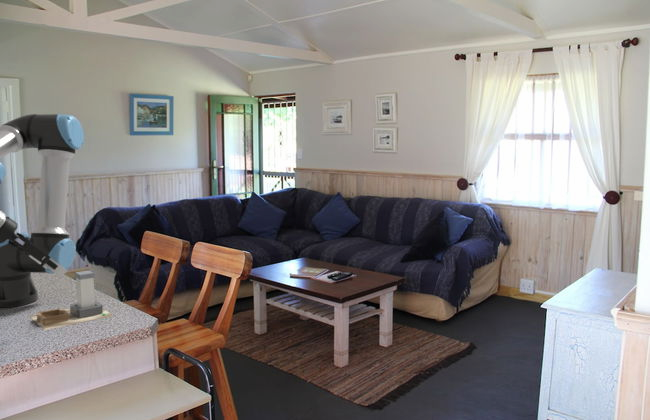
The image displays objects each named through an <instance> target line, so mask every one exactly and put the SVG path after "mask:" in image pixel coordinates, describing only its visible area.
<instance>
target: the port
mask: <svg viewBox="0 0 650 420" xmlns="http://www.w3.org/2000/svg"><path fill="white" fill-rule="evenodd" d="M69 309H70V313H71V314H72V315H73V316H75V317H76V318H78V317H79V318H84V317H89V316H94V315H99V314H102V313H103V309H104V308H103V304H102V303H100V302H98V301H97V300H95V306H94V307H89V308H84V309H79V308H78V307H77V302H75V303H71V304H70V305H69ZM103 315H106V313H103Z"/></svg>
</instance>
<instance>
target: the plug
mask: <svg viewBox="0 0 650 420" xmlns="http://www.w3.org/2000/svg"><path fill="white" fill-rule="evenodd" d="M74 275H75V277H74V278H75V284H76V285H75V288H76V289H75V291H76V303H77V307H78V308H79V309H84V308H89V307H94V306H95V301H96V300H95V299H96V298H95V282H94V281H95V279H94V278H95V273H94V272H92V271H91V270H82V271H76V272H74Z"/></svg>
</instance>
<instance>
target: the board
mask: <svg viewBox="0 0 650 420" xmlns="http://www.w3.org/2000/svg"><path fill="white" fill-rule="evenodd" d="M63 310H65V311H66V312H68V317H69V319H68V321H63V322H59V323H54V324H49V325H42V324H41V323H40V322H39V321H38V320H37V314H34V315H29V318H30V319H31V320H33V322H35V323H36V324H37V325H38V326H39V327H40V328H42V329H43V330H44V331H48V330H53V329H57V328H63V327H67V326H72V325H77V324H80V323H87V322H91V321H96V320H100V319H104V318H110V317H114V316H115V315H114V314H112V313H110V312H109V311H107V310H105V309H104V308H103V313H106V315H103V313H102V314H99V315H94V316H89V317H84V318H79V317H78V318H76V317H75V316H73V315H72V314H71V313H70V308H66V309H63Z"/></svg>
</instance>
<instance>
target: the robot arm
mask: <svg viewBox="0 0 650 420" xmlns="http://www.w3.org/2000/svg"><path fill="white" fill-rule="evenodd" d="M84 139H85V136H84V131H83V126H82V124H81V122H80V121H79V120H78V119H77V118H76V117H75V116H73V115H72V114H62V113H59V114H58V113H57V114H52V113H51V114H48V113H47V114H39V113H38V114H35V113H34V114H32V113H31V114H26V115H23V116H19V117H15V119H14V118H13V119H11V120H9V121H7V122H5V123H3V124H2V125H0V160H2V159H3V158H4V157H5V156H8V154H13V153H17V152H20V151H22V150H24V149H37V153H38V154H39V156H41V166H40V167H41V168H40V182H39V194H38V205H37V207H38V209H37V218H36V228H35V229H33V230H32V231H31V232H30V235H29V233H28V232H16V230H17V229H18V223H17V222H16V221H15V220H13V219H12V218H11V217H9V216H6V213H5V212H3V211H2V210H0V308H13V307H20V306H25V305H29V304H32V303H34V302H36V301H37V300H39V293H38V290H37V287H36V285H35V283H34V281H33V279H32V273H33V274H34V273H35V274H48V275H49V274H54V275H56V276H58V277H59V278H63V277H64V275H65V274H66V273H67V272H68V269H70V267H71V266H72V264H73V262H74V260H75V256H76V246H75V245H76V244H75V242H74V241H73V240H72V239H71V238H70V233H69V232H68V231H67V230H66V228H65V227H66V218H67V216H66V215H67V203H68V193H69V192H68V189H69V176H70V165H71V164H70V162H71V159H73V158H74V157H76V150H80V149H81V148H82V146H83V144H84V141H85V140H84ZM6 174H7V170H6V167H5V166H4V164H3V162H1V161H0V185H1V184H2V181H3V180H4V178H5V176H6Z"/></svg>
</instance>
